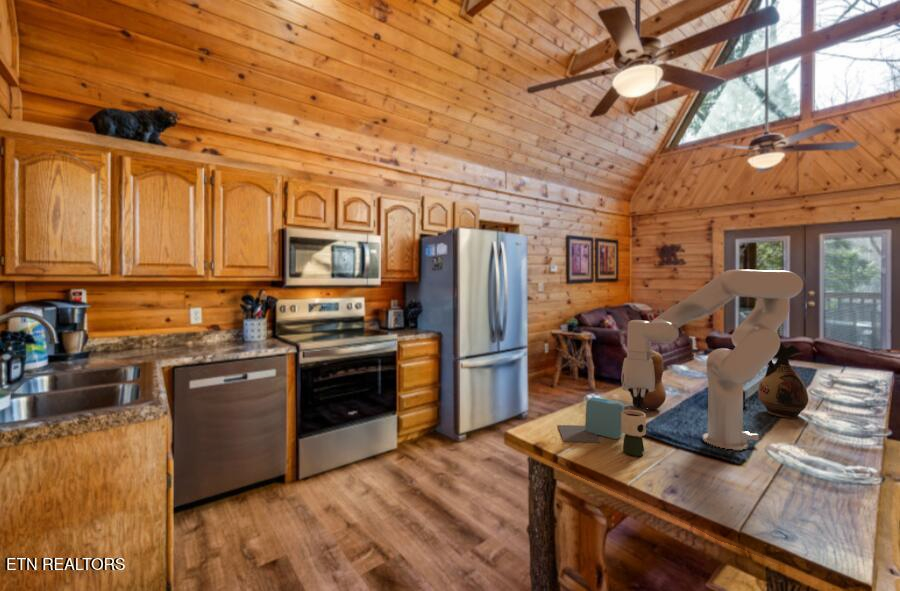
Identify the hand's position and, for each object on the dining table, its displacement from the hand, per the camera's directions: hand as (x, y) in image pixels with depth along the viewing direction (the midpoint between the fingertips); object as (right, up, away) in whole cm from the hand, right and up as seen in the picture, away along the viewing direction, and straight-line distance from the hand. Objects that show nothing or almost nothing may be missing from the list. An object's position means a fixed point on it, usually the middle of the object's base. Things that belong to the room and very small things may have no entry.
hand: (637, 407), depth 141 cm
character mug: (-8, -11, -14) cm, 19 cm away
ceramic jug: (+67, -9, +20) cm, 70 cm away
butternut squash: (+19, -9, +30) cm, 37 cm away
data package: (-11, -10, +2) cm, 15 cm away
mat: (-20, -11, +3) cm, 23 cm away
